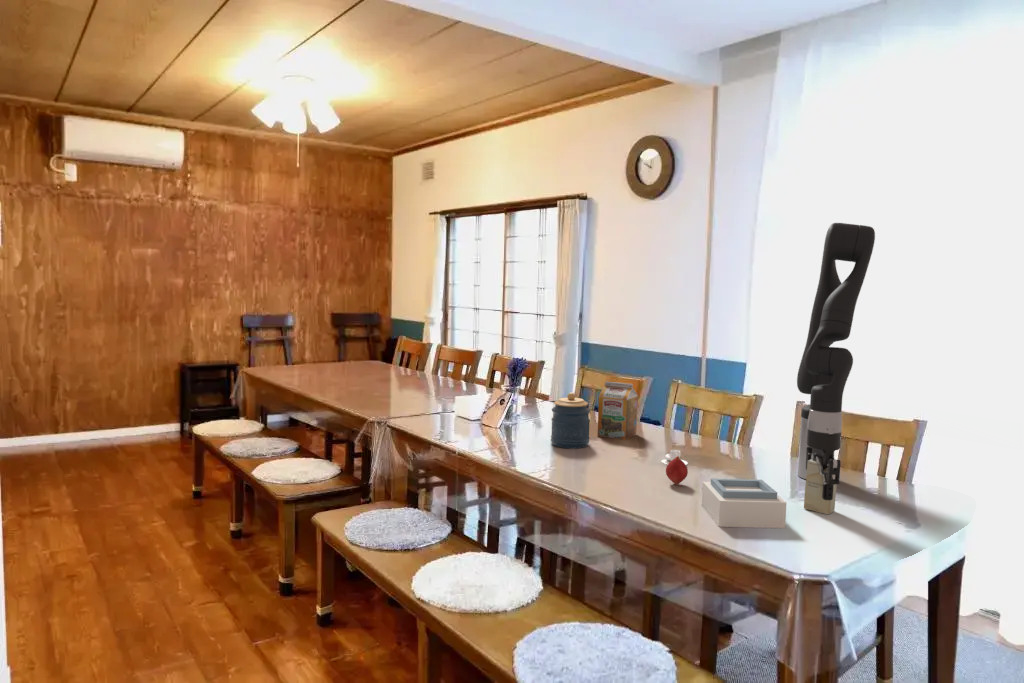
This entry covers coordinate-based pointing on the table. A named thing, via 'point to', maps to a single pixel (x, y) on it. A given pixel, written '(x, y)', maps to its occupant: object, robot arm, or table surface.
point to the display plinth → (743, 503)
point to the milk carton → (617, 411)
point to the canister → (570, 423)
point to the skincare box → (817, 491)
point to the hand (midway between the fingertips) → (820, 494)
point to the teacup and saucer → (673, 456)
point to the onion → (676, 470)
